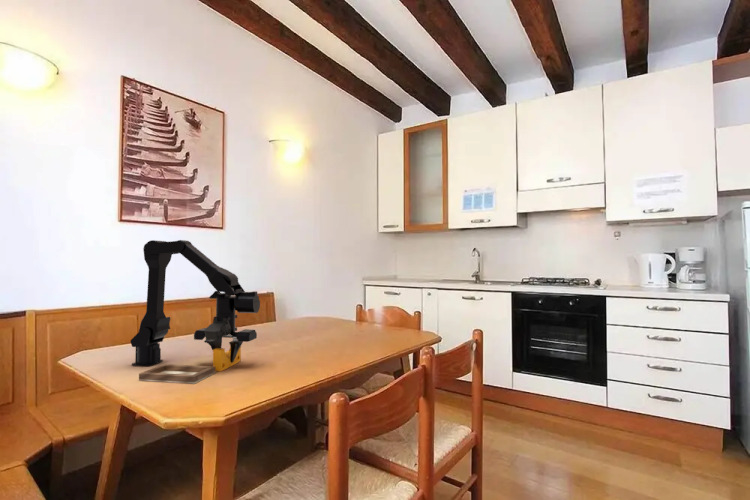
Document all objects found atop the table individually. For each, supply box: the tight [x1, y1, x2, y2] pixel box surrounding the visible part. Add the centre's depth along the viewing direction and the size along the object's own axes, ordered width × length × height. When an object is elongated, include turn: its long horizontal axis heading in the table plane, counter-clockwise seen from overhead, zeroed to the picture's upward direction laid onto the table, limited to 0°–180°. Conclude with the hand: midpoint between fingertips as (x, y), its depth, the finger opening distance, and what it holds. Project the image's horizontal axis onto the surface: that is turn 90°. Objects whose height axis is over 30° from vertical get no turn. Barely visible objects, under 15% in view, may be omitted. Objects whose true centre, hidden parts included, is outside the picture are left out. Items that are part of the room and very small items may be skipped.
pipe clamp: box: [212, 345, 242, 372], centre depth 124 cm, size 12×4×6 cm, turn 171°
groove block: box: [138, 363, 216, 385], centre depth 112 cm, size 17×10×2 cm, turn 81°
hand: (225, 361), depth 124 cm, fingers closed on pipe clamp, 4 cm apart
